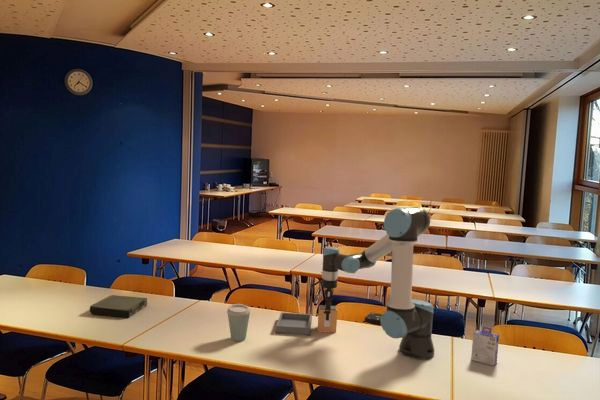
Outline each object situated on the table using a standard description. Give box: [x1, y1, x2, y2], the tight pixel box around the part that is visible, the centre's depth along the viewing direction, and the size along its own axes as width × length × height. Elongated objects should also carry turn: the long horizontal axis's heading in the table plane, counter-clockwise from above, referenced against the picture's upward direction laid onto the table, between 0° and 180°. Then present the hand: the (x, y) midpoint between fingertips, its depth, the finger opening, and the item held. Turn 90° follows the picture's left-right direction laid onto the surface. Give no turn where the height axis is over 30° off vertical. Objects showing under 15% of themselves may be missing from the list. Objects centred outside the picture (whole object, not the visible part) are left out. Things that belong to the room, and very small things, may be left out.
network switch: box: [89, 294, 148, 319], centre depth 250 cm, size 23×23×5 cm
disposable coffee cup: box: [226, 303, 251, 342], centre depth 218 cm, size 11×11×15 cm
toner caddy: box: [317, 304, 338, 333], centre depth 236 cm, size 6×9×11 cm, turn 86°
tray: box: [275, 311, 313, 336], centre depth 238 cm, size 20×16×4 cm
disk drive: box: [364, 312, 383, 326], centre depth 252 cm, size 10×3×15 cm
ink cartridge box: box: [470, 326, 500, 366], centre depth 207 cm, size 10×6×14 cm, turn 58°
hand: (327, 321), depth 236 cm, fingers open, 13 cm apart
